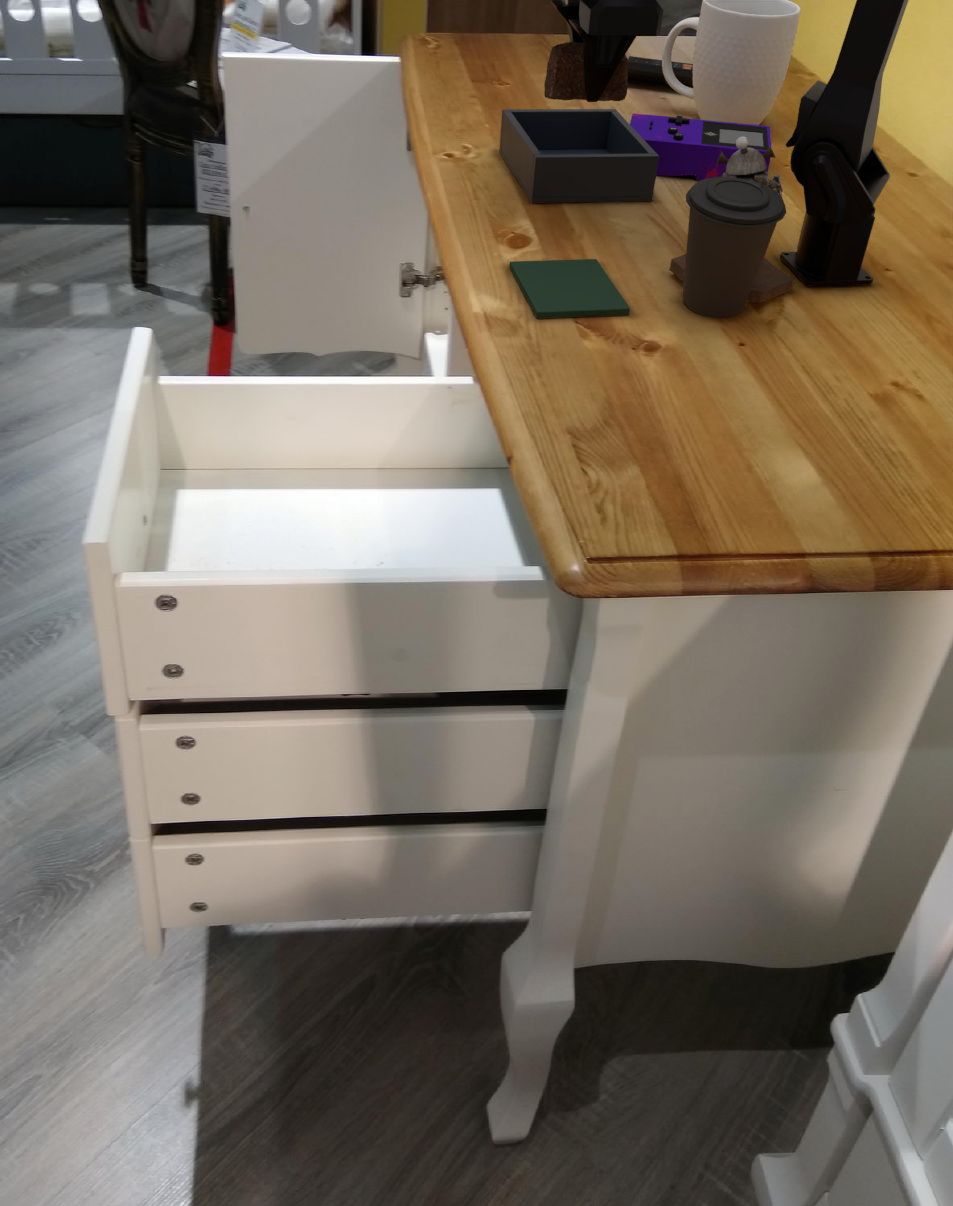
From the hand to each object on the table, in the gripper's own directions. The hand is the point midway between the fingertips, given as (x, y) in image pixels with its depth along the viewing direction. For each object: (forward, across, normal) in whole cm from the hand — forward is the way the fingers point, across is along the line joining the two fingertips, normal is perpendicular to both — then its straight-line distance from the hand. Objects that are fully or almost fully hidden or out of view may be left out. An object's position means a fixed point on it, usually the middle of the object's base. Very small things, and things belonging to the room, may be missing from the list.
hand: (586, 96), depth 107 cm
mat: (+11, +17, -5) cm, 21 cm away
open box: (+11, -10, +2) cm, 15 cm away
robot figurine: (+11, +17, +10) cm, 22 cm away
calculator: (+11, -44, +23) cm, 51 cm away
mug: (+11, -28, +25) cm, 39 cm away
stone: (+1, 0, 0) cm, 1 cm away
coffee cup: (+11, +20, +7) cm, 24 cm away
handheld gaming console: (+12, -13, +16) cm, 24 cm away
